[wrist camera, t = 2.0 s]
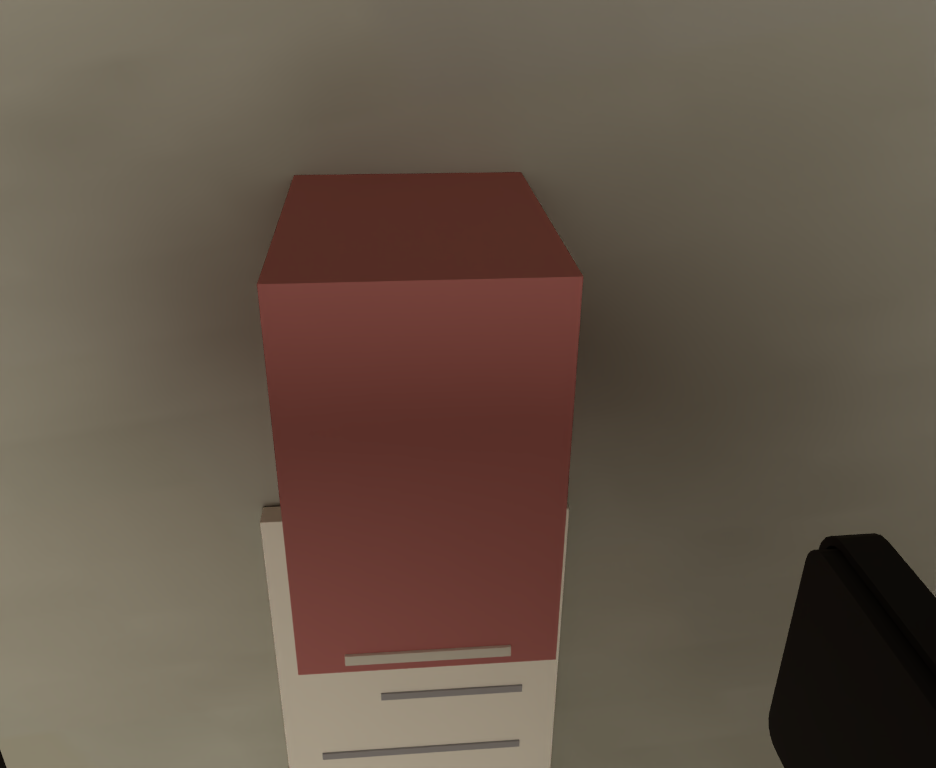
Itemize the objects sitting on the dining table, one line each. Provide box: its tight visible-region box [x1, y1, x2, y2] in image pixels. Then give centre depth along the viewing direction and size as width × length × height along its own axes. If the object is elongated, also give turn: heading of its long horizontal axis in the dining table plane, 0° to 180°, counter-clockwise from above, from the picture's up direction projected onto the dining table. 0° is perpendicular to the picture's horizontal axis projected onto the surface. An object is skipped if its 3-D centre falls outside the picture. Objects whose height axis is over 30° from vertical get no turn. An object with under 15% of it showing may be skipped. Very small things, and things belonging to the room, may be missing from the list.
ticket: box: [260, 503, 569, 768], centre depth 23 cm, size 7×12×1 cm, turn 0°
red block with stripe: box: [257, 172, 583, 675], centre depth 16 cm, size 4×7×6 cm, turn 0°
